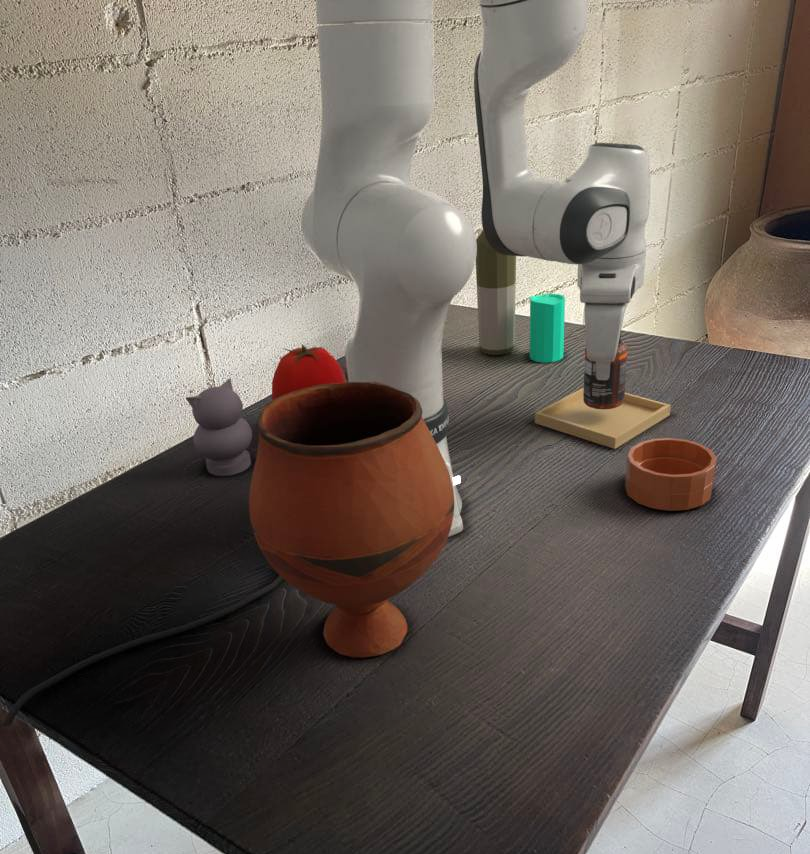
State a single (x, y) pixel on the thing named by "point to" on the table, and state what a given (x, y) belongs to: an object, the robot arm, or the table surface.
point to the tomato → (305, 370)
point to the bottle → (495, 298)
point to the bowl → (670, 474)
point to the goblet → (350, 504)
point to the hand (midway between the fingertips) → (604, 369)
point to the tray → (603, 418)
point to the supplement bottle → (606, 382)
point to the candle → (547, 327)
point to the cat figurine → (221, 430)
